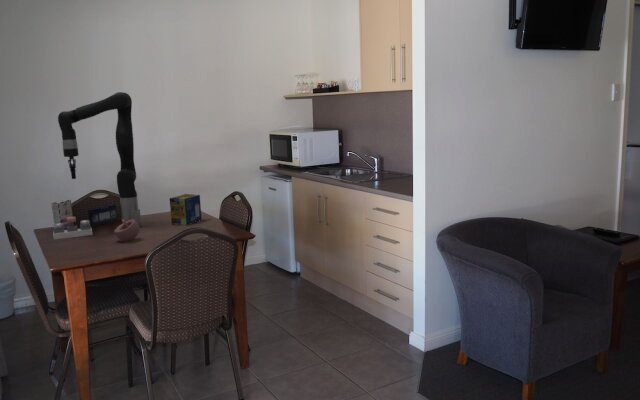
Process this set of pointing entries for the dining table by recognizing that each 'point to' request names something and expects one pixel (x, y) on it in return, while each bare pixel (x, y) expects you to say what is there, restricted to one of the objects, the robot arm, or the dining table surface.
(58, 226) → the plunger
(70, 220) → the dial knob
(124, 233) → the mortar and pestle
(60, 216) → the candy bar box
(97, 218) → the vhs cassette tape
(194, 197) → the protein box
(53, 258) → the dining table surface
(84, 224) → the plunger
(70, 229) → the grey knob panel
